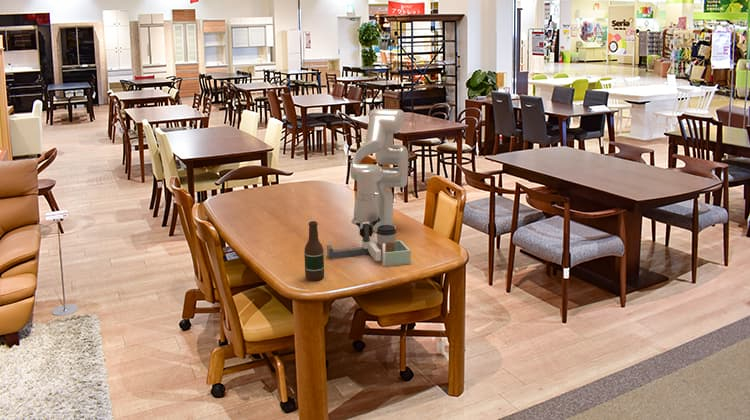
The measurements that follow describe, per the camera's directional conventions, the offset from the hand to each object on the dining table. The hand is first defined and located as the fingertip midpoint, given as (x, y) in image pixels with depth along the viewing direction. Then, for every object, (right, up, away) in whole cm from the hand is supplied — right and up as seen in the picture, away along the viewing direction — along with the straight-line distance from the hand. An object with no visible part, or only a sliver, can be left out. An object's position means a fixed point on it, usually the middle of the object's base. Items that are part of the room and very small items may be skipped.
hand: (366, 235), depth 312 cm
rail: (-3, -9, +2) cm, 9 cm away
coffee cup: (+9, -11, -5) cm, 15 cm away
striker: (+3, -8, -4) cm, 9 cm away
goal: (+11, -10, -5) cm, 16 cm away
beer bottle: (-21, -17, -25) cm, 36 cm away
